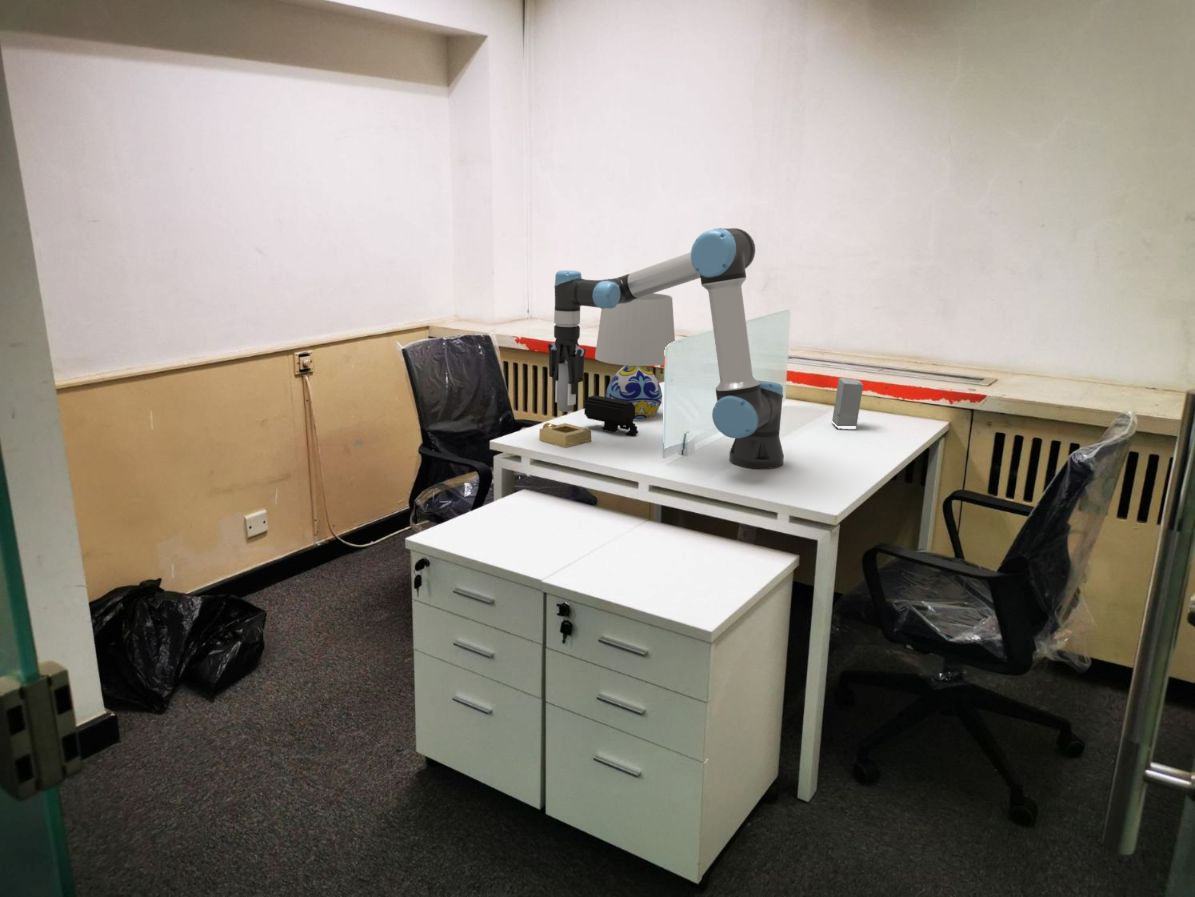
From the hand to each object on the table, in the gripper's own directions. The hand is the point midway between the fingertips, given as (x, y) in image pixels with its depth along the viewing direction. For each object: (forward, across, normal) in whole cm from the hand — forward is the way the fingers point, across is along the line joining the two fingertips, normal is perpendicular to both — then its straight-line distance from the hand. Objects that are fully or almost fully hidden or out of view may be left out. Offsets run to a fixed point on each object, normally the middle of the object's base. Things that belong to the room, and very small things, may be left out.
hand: (565, 403), depth 268 cm
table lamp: (+12, +8, -41) cm, 43 cm away
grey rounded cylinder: (+2, 0, 0) cm, 2 cm away
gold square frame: (+12, +1, 0) cm, 12 cm away
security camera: (+12, -2, -19) cm, 23 cm away
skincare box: (+11, -50, -80) cm, 95 cm away
